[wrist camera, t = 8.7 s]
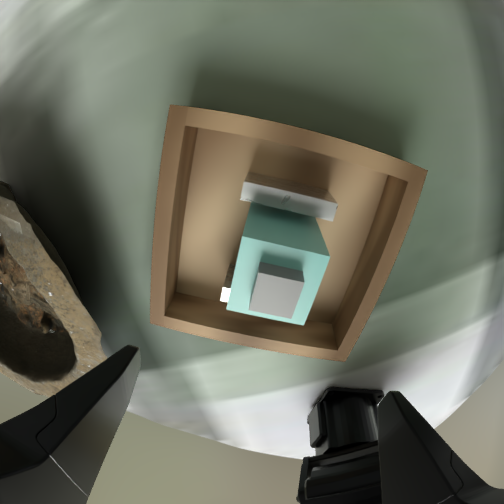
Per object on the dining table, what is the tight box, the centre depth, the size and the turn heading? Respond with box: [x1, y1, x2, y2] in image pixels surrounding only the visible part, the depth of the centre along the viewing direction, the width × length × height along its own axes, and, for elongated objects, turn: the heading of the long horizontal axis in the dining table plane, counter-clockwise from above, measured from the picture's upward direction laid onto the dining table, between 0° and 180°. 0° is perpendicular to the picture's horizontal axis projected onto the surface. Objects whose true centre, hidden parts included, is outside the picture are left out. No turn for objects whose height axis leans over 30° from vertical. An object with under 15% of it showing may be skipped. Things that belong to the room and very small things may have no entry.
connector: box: [226, 202, 330, 325], centre depth 16 cm, size 4×4×7 cm
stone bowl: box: [0, 182, 107, 397], centre depth 20 cm, size 25×25×9 cm
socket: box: [220, 172, 338, 302], centre depth 18 cm, size 5×7×3 cm
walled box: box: [150, 105, 428, 362], centre depth 18 cm, size 14×14×4 cm
